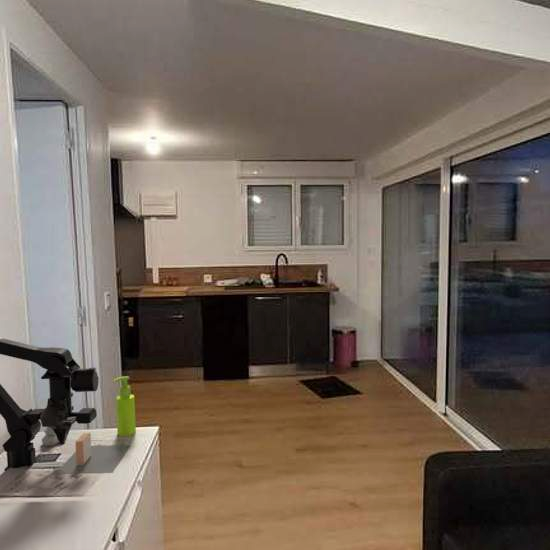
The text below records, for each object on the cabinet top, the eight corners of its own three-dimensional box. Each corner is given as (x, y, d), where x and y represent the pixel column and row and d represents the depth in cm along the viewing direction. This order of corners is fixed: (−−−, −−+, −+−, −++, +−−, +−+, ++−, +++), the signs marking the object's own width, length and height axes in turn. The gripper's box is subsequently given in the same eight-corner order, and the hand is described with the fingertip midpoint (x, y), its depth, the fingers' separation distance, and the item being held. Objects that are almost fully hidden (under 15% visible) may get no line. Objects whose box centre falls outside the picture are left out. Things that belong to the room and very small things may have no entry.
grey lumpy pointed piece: (43, 443, 153) (42, 419, 152) (65, 440, 155) (64, 416, 154) (40, 450, 147) (39, 425, 147) (63, 447, 149) (62, 422, 149)
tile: (76, 465, 135) (75, 441, 135) (84, 455, 141) (83, 433, 141) (84, 464, 135) (82, 441, 135) (91, 455, 141) (90, 433, 141)
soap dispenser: (111, 435, 158) (109, 377, 157) (131, 429, 163) (128, 373, 161) (119, 440, 154) (116, 380, 152) (138, 434, 158) (136, 376, 157)
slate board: (54, 476, 130) (54, 473, 130) (80, 448, 148) (80, 446, 148) (112, 475, 130) (112, 472, 130) (131, 447, 148) (131, 445, 148)
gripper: (13, 402, 129) (16, 457, 130) (81, 401, 129) (83, 456, 130) (33, 389, 140) (36, 440, 141) (96, 388, 140) (98, 439, 141)
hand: (62, 444), depth 138 cm, fingers closed
